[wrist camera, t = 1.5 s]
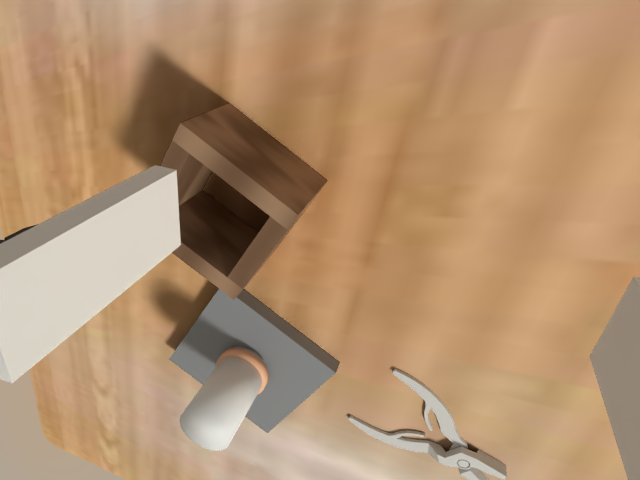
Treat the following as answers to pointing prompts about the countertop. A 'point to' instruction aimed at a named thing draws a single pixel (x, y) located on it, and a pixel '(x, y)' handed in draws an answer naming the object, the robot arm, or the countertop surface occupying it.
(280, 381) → the square plate with peg
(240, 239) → the collar
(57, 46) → the countertop surface
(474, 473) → the pliers
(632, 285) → the robot arm
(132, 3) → the countertop surface
